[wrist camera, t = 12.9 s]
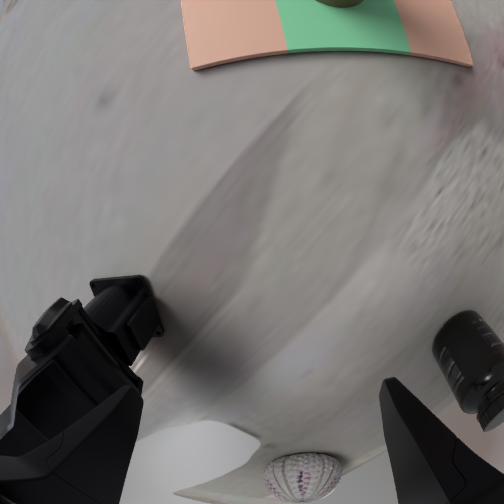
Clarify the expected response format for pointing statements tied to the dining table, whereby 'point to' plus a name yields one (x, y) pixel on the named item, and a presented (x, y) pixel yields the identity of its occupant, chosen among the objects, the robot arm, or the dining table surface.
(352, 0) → the walnut peg
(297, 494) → the sea urchin shell
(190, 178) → the dining table surface
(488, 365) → the supplement bottle
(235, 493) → the dining table surface
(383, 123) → the dining table surface
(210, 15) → the board
